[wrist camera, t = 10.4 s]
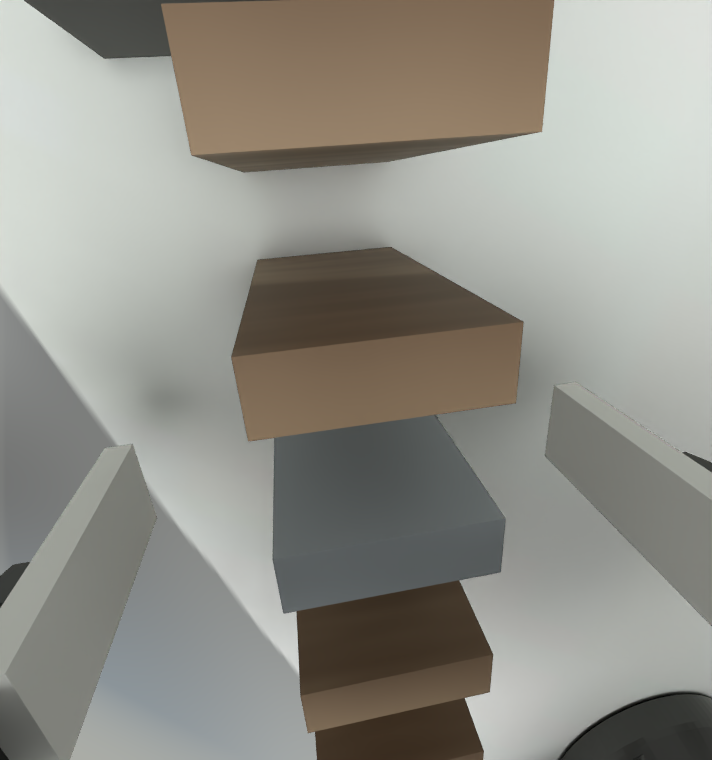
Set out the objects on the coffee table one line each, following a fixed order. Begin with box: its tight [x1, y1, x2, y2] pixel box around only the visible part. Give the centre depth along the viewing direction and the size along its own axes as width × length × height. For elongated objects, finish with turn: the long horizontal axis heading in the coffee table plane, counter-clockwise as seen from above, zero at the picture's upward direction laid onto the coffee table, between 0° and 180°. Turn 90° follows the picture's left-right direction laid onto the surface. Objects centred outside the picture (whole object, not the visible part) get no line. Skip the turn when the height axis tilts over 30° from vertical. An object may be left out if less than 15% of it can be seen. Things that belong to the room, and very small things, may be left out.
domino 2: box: [231, 247, 523, 441], centre depth 12 cm, size 2×5×10 cm, turn 94°
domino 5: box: [315, 698, 484, 760], centre depth 18 cm, size 2×5×10 cm, turn 94°
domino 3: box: [273, 415, 506, 614], centre depth 14 cm, size 2×5×10 cm, turn 94°
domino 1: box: [161, 0, 554, 172], centre depth 10 cm, size 2×5×10 cm, turn 94°
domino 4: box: [297, 580, 493, 733], centre depth 16 cm, size 2×5×10 cm, turn 94°
